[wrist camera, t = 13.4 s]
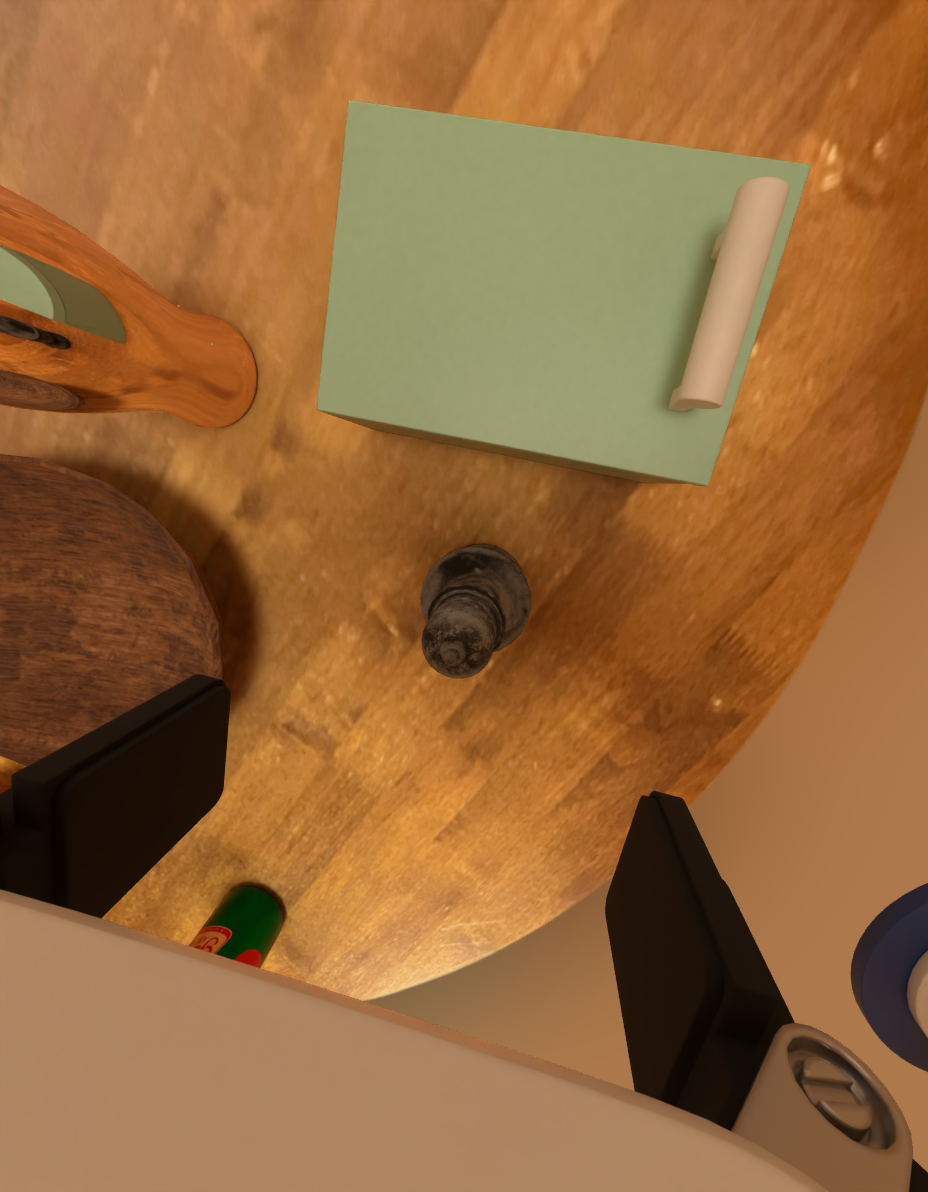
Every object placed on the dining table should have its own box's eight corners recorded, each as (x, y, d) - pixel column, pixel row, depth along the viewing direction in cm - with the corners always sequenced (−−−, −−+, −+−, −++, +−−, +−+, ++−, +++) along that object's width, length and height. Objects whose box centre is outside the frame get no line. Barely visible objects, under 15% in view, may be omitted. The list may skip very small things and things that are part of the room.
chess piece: (494, 652, 29) (472, 765, 17) (415, 598, 29) (341, 677, 17) (550, 575, 27) (567, 644, 16) (467, 519, 27) (424, 546, 16)
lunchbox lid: (798, 178, 16) (883, 84, 12) (701, 486, 19) (745, 487, 15) (355, 115, 18) (308, 12, 14) (323, 412, 20) (276, 396, 16)
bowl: (253, 773, 34) (207, 822, 29) (-22, 697, 35) (-108, 732, 30) (283, 500, 29) (233, 504, 24) (-40, 426, 30) (-147, 415, 25)
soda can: (256, 870, 36) (127, 1057, 24) (299, 917, 36) (193, 1122, 25) (213, 898, 37) (70, 1088, 25) (255, 943, 37) (134, 1150, 26)
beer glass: (237, 458, 28) (-65, 433, 14) (138, 398, 28) (-271, 308, 14) (284, 347, 26) (-9, 184, 12) (177, 282, 26) (-248, 37, 12)
